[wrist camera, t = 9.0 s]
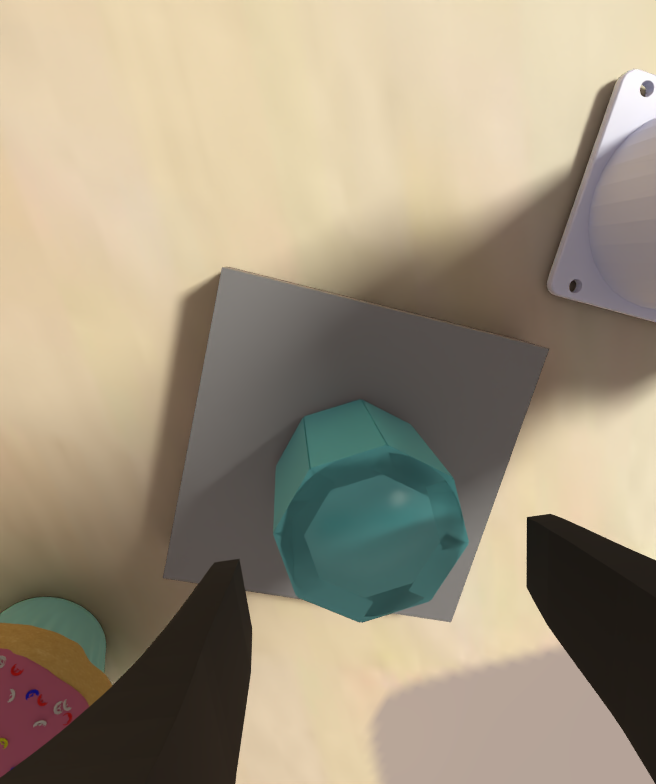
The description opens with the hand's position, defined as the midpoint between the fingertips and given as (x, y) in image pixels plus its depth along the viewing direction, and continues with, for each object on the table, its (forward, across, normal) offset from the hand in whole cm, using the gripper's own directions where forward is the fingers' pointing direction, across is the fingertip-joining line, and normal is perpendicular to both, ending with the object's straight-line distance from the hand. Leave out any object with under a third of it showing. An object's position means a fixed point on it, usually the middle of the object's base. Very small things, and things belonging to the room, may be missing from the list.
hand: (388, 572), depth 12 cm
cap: (+6, 0, 0) cm, 6 cm away
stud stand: (+8, 0, 0) cm, 9 cm away
